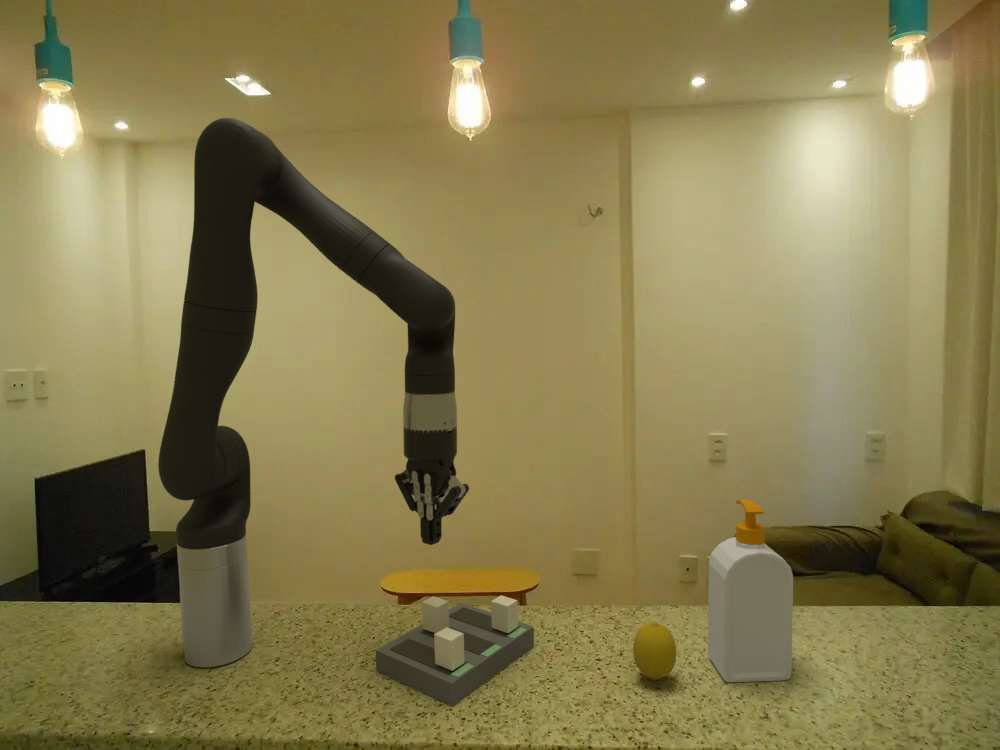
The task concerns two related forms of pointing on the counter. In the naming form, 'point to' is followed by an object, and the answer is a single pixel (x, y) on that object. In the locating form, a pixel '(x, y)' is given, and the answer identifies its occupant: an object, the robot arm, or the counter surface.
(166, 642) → the counter surface
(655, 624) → the lemon
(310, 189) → the robot arm
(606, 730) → the counter surface
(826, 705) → the counter surface
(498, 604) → the block
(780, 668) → the soap bottle
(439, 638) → the block
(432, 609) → the block
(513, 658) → the breaker panel
